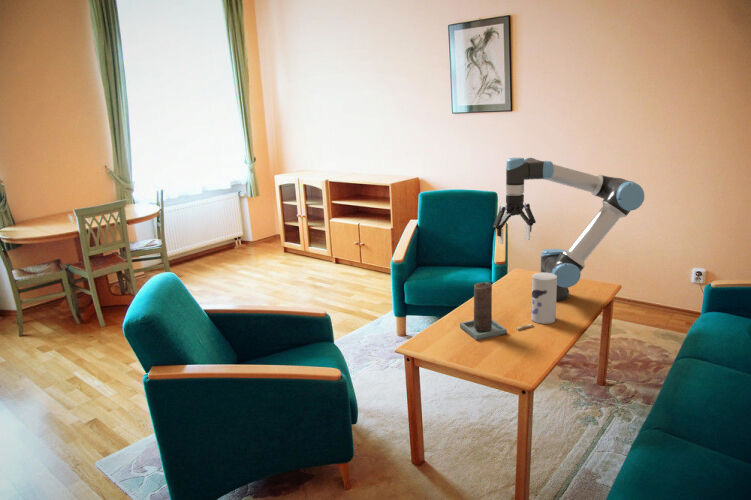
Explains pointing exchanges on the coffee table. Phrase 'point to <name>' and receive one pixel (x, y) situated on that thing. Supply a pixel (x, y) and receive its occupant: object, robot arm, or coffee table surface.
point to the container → (544, 297)
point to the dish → (482, 334)
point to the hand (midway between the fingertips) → (514, 241)
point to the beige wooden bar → (524, 327)
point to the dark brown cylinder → (483, 306)
